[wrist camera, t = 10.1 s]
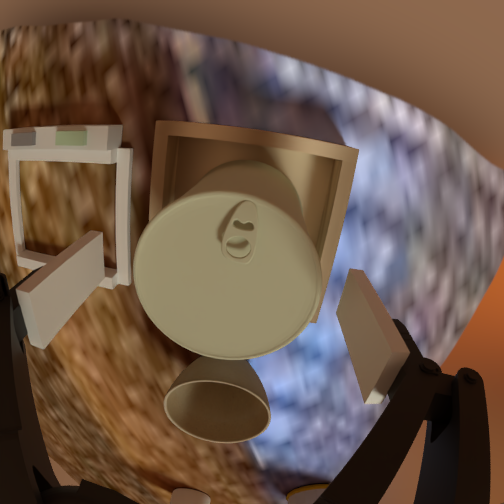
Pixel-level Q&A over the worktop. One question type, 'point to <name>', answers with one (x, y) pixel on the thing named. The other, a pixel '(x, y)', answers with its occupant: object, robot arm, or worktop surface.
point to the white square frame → (73, 150)
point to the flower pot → (218, 401)
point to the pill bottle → (189, 497)
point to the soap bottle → (306, 494)
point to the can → (230, 264)
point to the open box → (266, 151)
